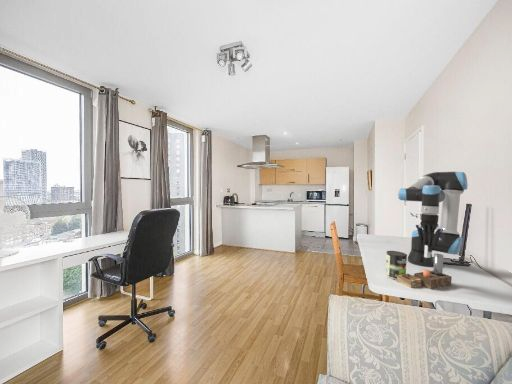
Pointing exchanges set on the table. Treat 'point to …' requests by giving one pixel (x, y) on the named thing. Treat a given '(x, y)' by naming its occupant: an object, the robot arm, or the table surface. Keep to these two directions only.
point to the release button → (426, 273)
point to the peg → (438, 264)
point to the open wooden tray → (409, 280)
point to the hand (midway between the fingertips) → (427, 257)
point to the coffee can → (395, 264)
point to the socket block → (434, 280)
